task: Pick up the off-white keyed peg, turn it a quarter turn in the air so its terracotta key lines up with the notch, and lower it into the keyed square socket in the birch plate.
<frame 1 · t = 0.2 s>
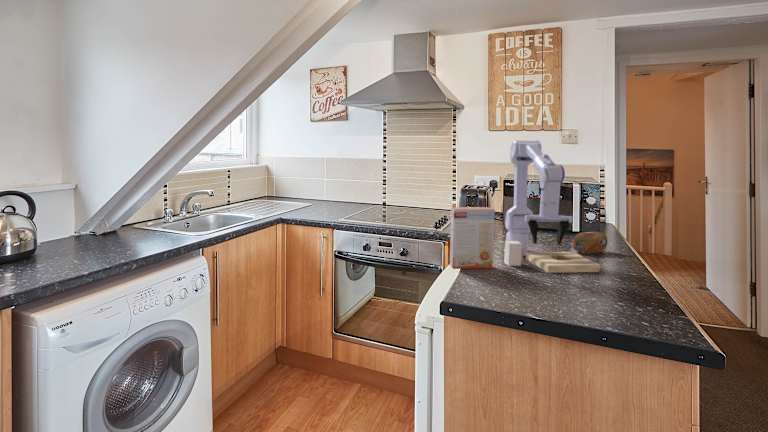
hand: (546, 243, 139), 10 cm above the countertop, tool pointing down, fingers open, 7 cm apart
cracker box: (470, 267, 147), on the countertop
keyed peg: (512, 264, 151), on the countertop
tin: (588, 252, 169), on the countertop
socket plate: (560, 265, 150), on the countertop
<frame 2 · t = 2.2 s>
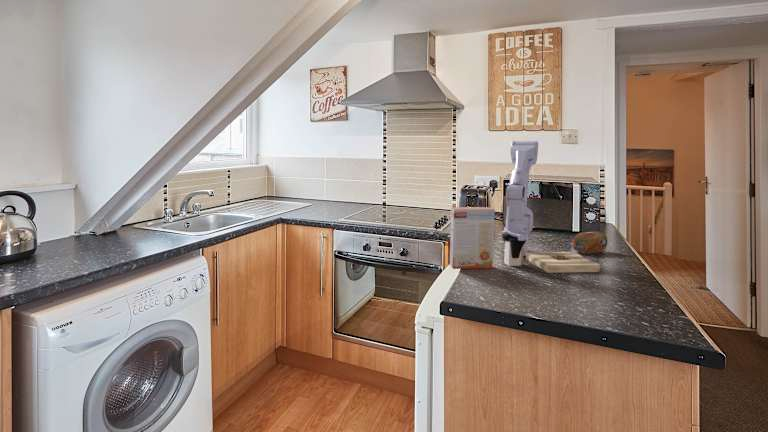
hand: (512, 256, 150), 3 cm above the countertop, tool pointing down, fingers closed on keyed peg, 4 cm apart
keyed peg: (512, 264, 151), on the countertop, touching gripper
everything else where it was.
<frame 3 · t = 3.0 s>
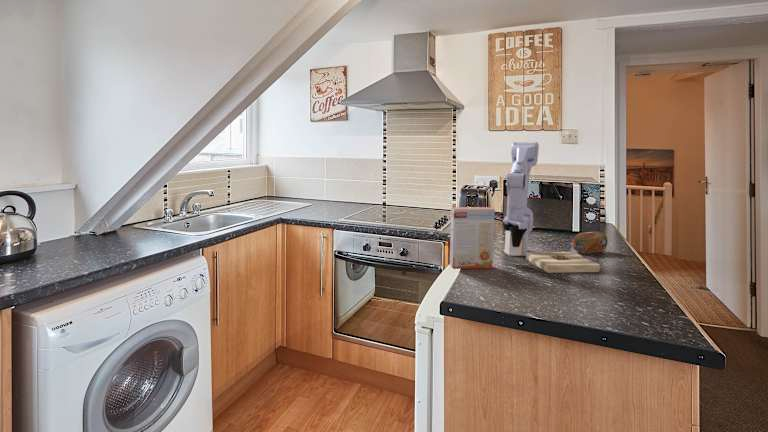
hand: (513, 245, 150), 7 cm above the countertop, tool pointing down, fingers closed on keyed peg, 4 cm apart
keyed peg: (512, 253, 150), point 4 cm above the countertop, touching gripper
everything else where it was.
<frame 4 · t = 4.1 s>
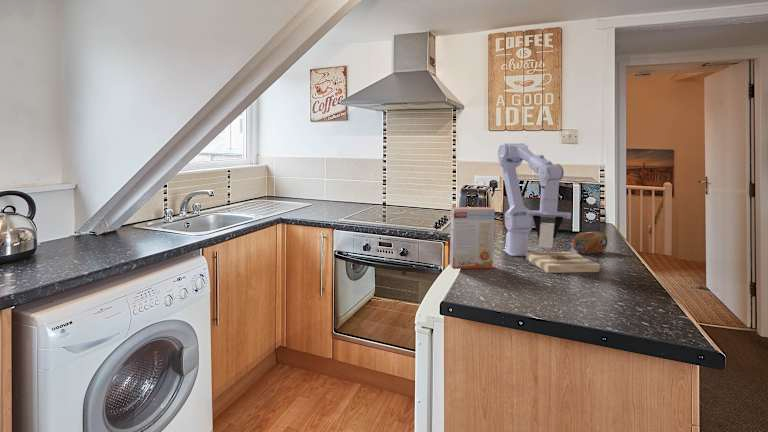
hand: (546, 237, 149), 10 cm above the countertop, tool pointing down, fingers closed on keyed peg, 4 cm apart
keyed peg: (545, 246, 149), point 7 cm above the countertop, touching gripper
everything else where it was.
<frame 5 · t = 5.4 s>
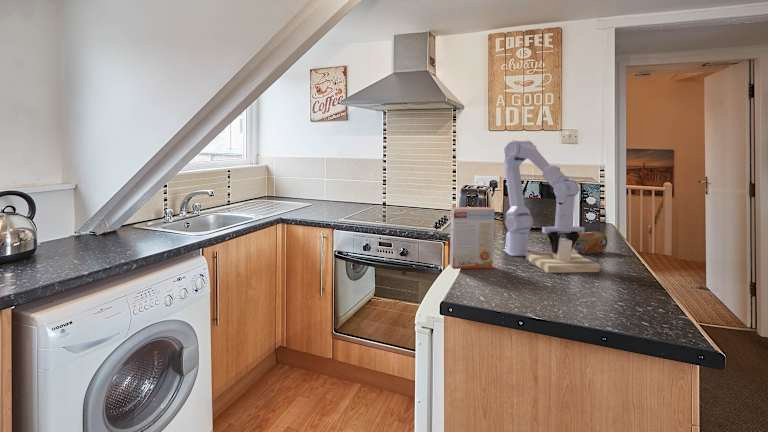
hand: (561, 252, 149), 4 cm above the countertop, tool pointing down, fingers closed on keyed peg, 4 cm apart
keyed peg: (561, 261, 149), point 1 cm above the countertop, touching gripper
everything else where it was.
when the fingers open (4 cm above the countertop, at t = 6.2 s): keyed peg drops 1 cm, on the countertop.
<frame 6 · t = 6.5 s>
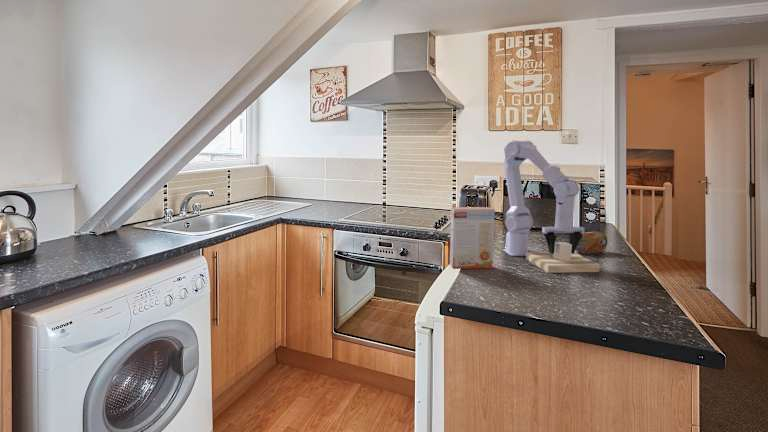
hand: (561, 253, 149), 4 cm above the countertop, tool pointing down, fingers open, 7 cm apart
keyed peg: (561, 265, 150), on the countertop
everything else where it was.
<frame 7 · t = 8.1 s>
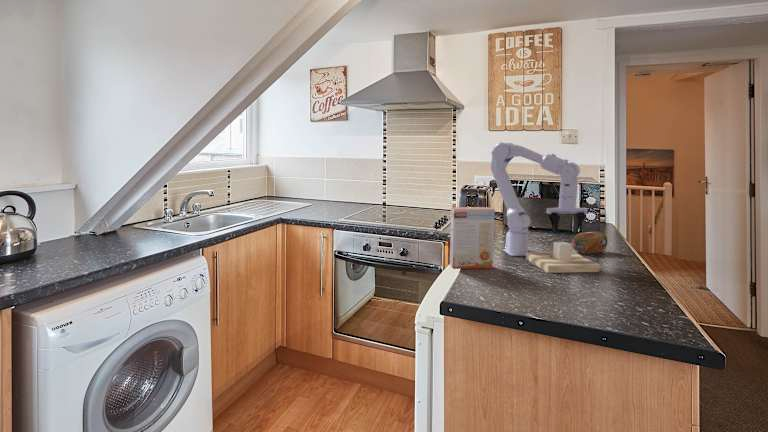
hand: (565, 233, 155), 10 cm above the countertop, tool pointing down, fingers open, 7 cm apart
nothing on the countertop moved.
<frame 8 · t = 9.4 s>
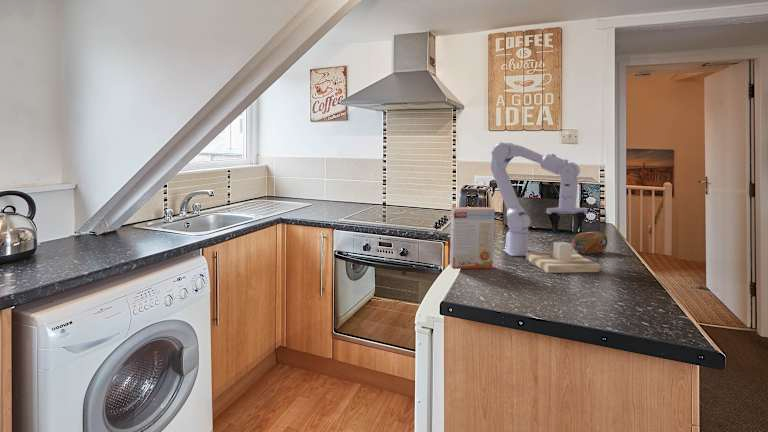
hand: (565, 233, 155), 10 cm above the countertop, tool pointing down, fingers open, 7 cm apart
nothing on the countertop moved.
at the end: keyed peg 0.3 cm off-centre on the socket plate, point 0.0 cm above the socket plate's base; keyed peg tilted 0°; the gripper is holding nothing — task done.
